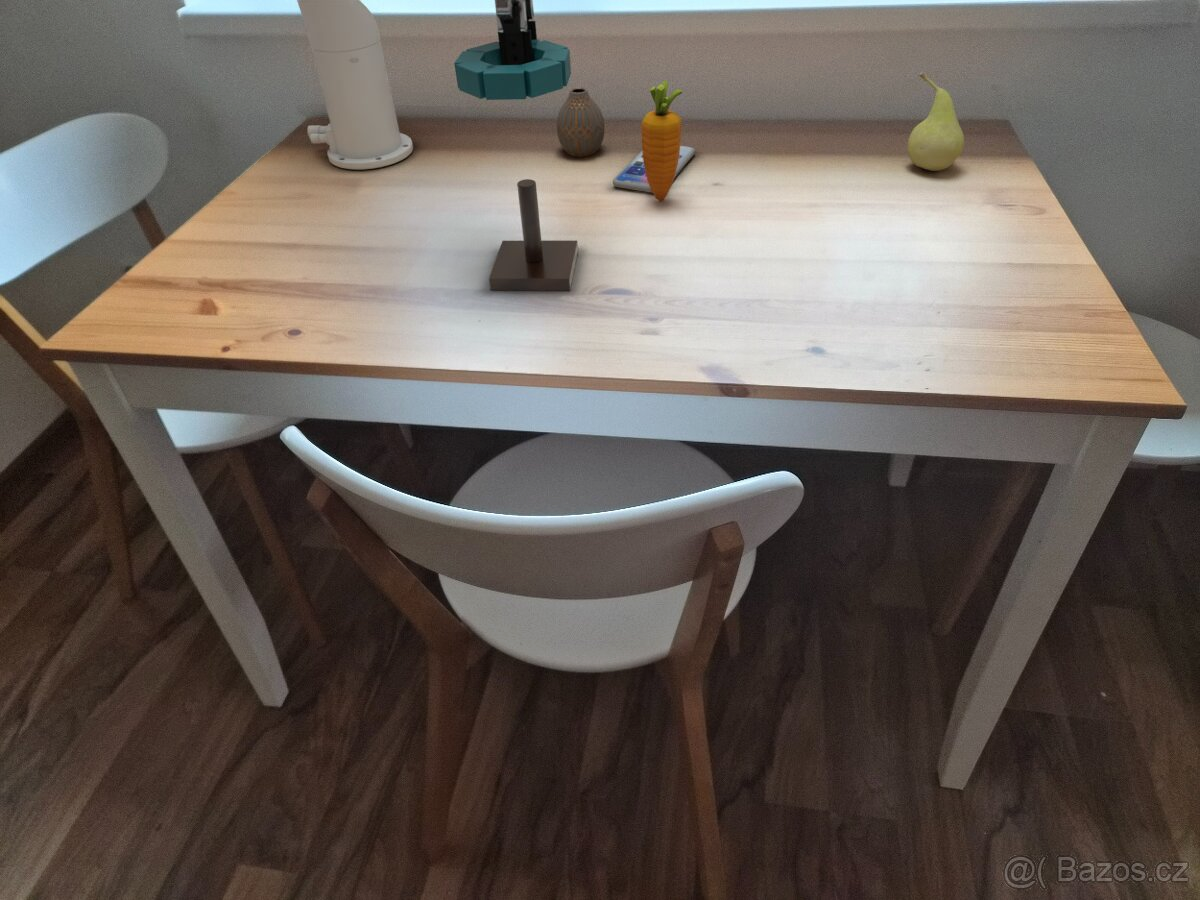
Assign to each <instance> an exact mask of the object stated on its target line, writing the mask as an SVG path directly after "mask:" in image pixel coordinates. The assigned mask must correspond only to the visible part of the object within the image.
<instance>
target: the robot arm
mask: <svg viewBox="0 0 1200 900" xmlns="http://www.w3.org/2000/svg"><path fill="white" fill-rule="evenodd" d="M296 2H297V3H298V4H297V6H298V8H299V11H300V14H301V18H302V21H303V24H304V28H305V32H306V35H307V39H308V43H309V46H310V50H311V55H312V57H313V62H314V66H315V70H316V73H317V77H318V81H319V84H320V89H321V93H322V96H323V100H324V104H325V107H326V112H327V116H328V120H329V123H328V124H327V125H318V124H317V125H316V124H315V125H308V126H307V129H306V130H307V136H308V138H309V140H310V142H311V144H326V145H327V146H329V147H328V149H327V151H326V155H327V158H328V161H329V162H330V164H332V165H334V166H336V167H338V168H341V169H347V170H372V169H379V168H383V167H387V166H390V165H393V164H396V163H399V162H401V161H403V160H404V159H406V158H408V157H409V156H410V155H411V154H412V152H413V150H414V144H413V140H412V138H411V137H410V136H408V135H407V134H404V133H402V132H400V127H399V123H398V118H397V113H396V109H395V103H394V99H393V94H392V89H391V85H390V79H389V75H388V70H387V65H386V59H385V55H384V49H383V46H382V45H383V44H382V40H381V35H380V30H379V26H378V23H377V20H376V18H375V17H374V15H373V13H372V12H371V11H370V9H369V8H368V7H367V6H366V5H365V4H364V3H363V2H362V1H361V0H296ZM494 6H495V17H496V26H497V37H498V42H499V47H500V56H501V64H502V65H522V64H526V63H529V62H533V50H532V40H537V39H538V37H537V36H538V35H537V24H536V20H535V11H534V10H535V9H534V0H494Z"/></svg>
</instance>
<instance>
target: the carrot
mask: <svg viewBox="0 0 1200 900" xmlns="http://www.w3.org/2000/svg"><path fill="white" fill-rule="evenodd" d="M668 86H669V81H668V80H663V81H662V82H661V83H660V84H659V85H658V86H657V87H656V86H653V87H651V88H650V90H649V93H650V96H651V97H652V100H653V102H654V105H655V110H652V111H648V113H646V114H645V116H644V118H643V119H642V121H641V125H640V126H641V127H640V129H641V151H642V153H643V161H644V167H645V172H646V176H647V180H648V183H649V186H650V188H651V190H652V192H653V193H652V194H653V196H654V198H655V200H656V201H657V202H659V203H663V202H664V201H665V199H666V198H667V196H668V194H669V192H670V190H671V188H672V186H673V182H674V180H675V178H676V176H675V173H676V169H677V164H678V159H679V154H680V146H681V142H682V141H681V139H682V118H681V116H680V115H679V114H678V113H676V112H674V111H672V110H670V109H669V108H670V106H671V105H672V103H673V101H674V100H675V99H676V98H677V97H678V96H680V95H682V94H683V91H682V90H681V89H680V88H678V89H675V90H674V91H673V92H672V93H671V94H670V95H669V97H668V96H667V93H668Z"/></svg>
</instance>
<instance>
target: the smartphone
mask: <svg viewBox="0 0 1200 900" xmlns="http://www.w3.org/2000/svg"><path fill="white" fill-rule="evenodd" d="M694 155H696V149H695V148H694V147H692V146H687V145H680V154H679V159H678V164H677V169H676V173H675V177H676V176H677V175H678V174H679V173H680V172H681V171H682V169H683V168H684V167H685V166H686V165H687V164H688V163H689V161H690V160H691V159H692V158H693V157H694ZM612 184H613V185H614V187H617V188H620V189H628V190H633V191H638V192H639V191H640V192H646V193H652V194H653V192H652V190H651V188H650V186H649V183H648V180H647V176H646V172H645V167H644V161H643V153H642V150H641V151H640V152H638V154H637V155H636V156H635V157H633V159H631V161H630V162H629V163H628V164H627V165H626V166H625V167H624V168H623V169H622V170H621V171H620V172H619V173H618V174H617V175H616V176H615V177H614V178H613V180H612Z"/></svg>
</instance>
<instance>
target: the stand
mask: <svg viewBox="0 0 1200 900" xmlns="http://www.w3.org/2000/svg"><path fill="white" fill-rule="evenodd" d="M516 186H517V187H516V188H517V195H518V203H519V212H520V221H521V230H522V231H521V232H522V239H523V240H501V243H500V245H499V249H498V253H497V255H496V258H495V260H494V263H493V266H492V269H491V271H490V274H489V277H488V282H489V283H488V284H489V289H490V290H489V291H555V292H556V291H557V292H559V291H561V292H562V291H563V292H564V291H565V292H566V291H569V292H570V291H571V287H572V283H573V279H574V272H575V268H576V264H577V259H578V254H579V245H578V244H579V243H578V240H576V239H575V240H572V239H571V240H567V239H565V240H561V239H560V240H558V239H557V240H555V239H554V240H542V231H541V222H540V221H541V220H540V211H539V201H538V193H537V191H538V190H537V182H536V181H535V180H534V179H531V178H526V179H521V180H519V181H517V183H516Z"/></svg>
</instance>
